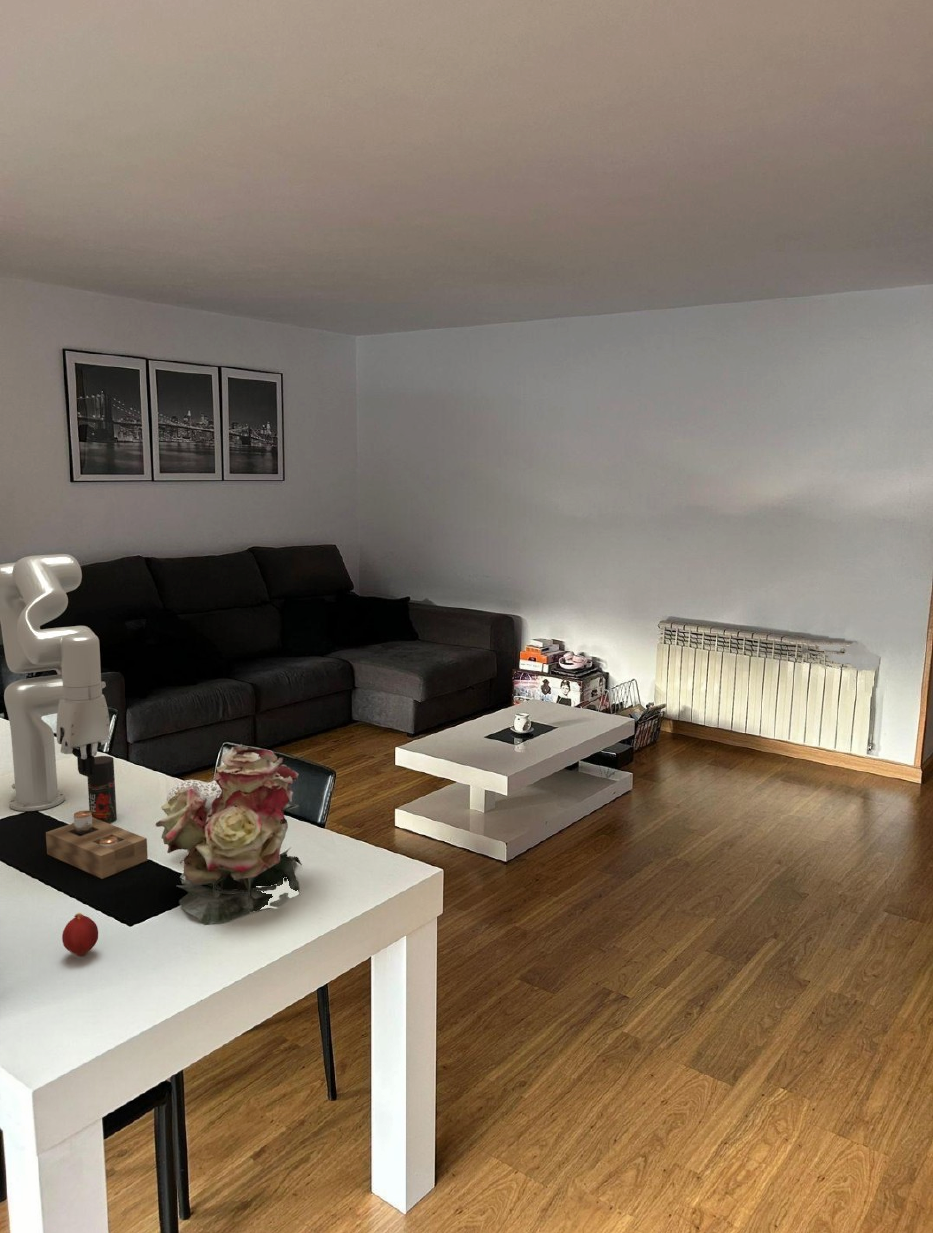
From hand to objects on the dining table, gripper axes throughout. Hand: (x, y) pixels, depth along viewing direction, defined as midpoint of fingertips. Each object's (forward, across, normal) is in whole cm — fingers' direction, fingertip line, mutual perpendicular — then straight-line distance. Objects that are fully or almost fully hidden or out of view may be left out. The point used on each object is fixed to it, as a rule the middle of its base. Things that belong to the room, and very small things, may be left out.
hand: (86, 773), depth 197 cm
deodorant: (+19, -13, -14) cm, 27 cm away
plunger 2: (+18, 0, +7) cm, 19 cm away
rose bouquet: (+18, -6, +40) cm, 44 cm away
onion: (+18, +26, +35) cm, 47 cm away
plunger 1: (+14, 0, -2) cm, 15 cm away
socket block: (+18, 0, +3) cm, 18 cm away
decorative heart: (+18, -16, +21) cm, 32 cm away
